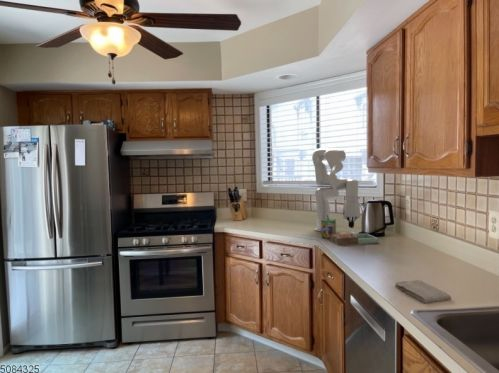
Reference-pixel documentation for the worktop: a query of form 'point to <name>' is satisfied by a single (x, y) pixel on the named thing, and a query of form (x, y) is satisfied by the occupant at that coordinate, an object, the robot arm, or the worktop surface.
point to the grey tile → (353, 234)
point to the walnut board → (344, 239)
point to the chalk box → (328, 227)
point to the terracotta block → (344, 234)
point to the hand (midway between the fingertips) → (351, 227)
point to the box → (366, 239)
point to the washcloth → (422, 291)
